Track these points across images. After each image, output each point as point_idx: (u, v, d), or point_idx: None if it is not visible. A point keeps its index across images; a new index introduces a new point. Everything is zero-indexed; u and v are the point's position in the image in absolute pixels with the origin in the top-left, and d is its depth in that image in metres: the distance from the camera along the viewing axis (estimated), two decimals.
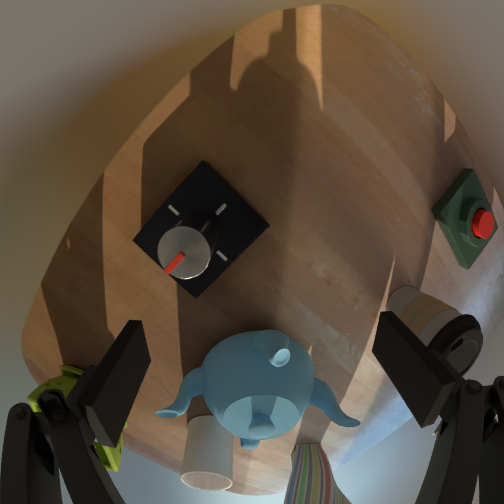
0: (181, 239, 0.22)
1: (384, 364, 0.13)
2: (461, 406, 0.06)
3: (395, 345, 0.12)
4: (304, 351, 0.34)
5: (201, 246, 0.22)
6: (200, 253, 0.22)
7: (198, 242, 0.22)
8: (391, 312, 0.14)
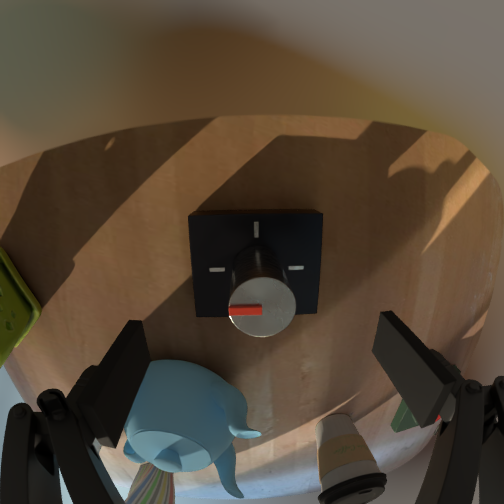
0: (274, 296, 0.18)
1: (384, 363, 0.13)
2: (461, 406, 0.06)
3: (395, 345, 0.12)
4: None
5: (284, 317, 0.18)
6: (277, 321, 0.18)
7: (286, 312, 0.18)
8: (391, 312, 0.14)
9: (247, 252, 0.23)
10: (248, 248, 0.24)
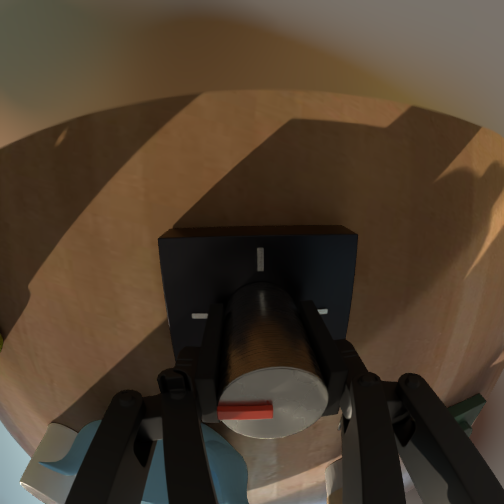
0: (294, 392, 0.09)
1: None
2: (358, 403, 0.08)
3: (307, 332, 0.14)
4: None
5: (308, 416, 0.10)
6: (297, 421, 0.10)
7: (311, 409, 0.10)
8: (311, 301, 0.16)
9: (247, 297, 0.15)
10: (248, 288, 0.16)
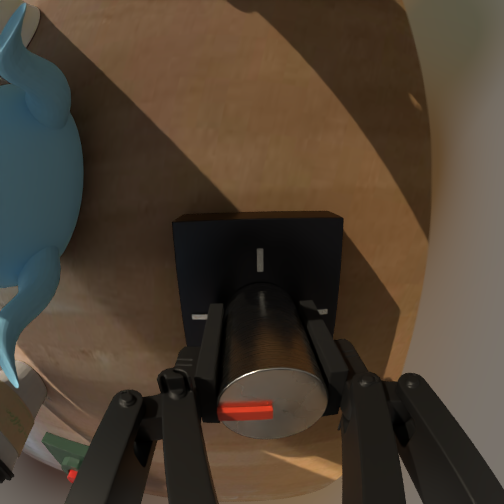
0: (294, 393, 0.09)
1: None
2: (358, 403, 0.08)
3: (307, 332, 0.14)
4: None
5: (309, 416, 0.10)
6: (297, 421, 0.10)
7: (311, 410, 0.10)
8: (311, 301, 0.16)
9: (246, 298, 0.15)
10: (247, 289, 0.16)
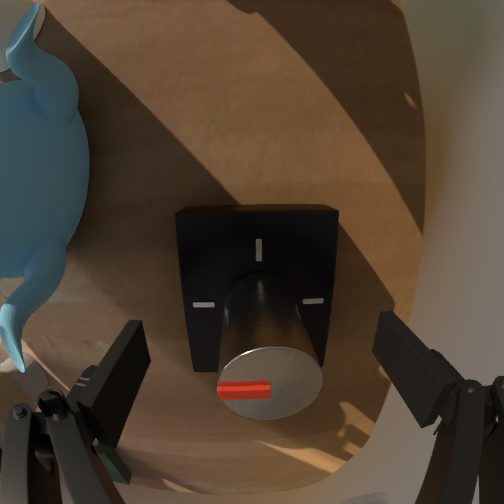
0: (290, 372, 0.10)
1: (384, 363, 0.13)
2: (461, 406, 0.06)
3: (395, 345, 0.12)
4: None
5: (304, 396, 0.11)
6: (293, 402, 0.11)
7: (307, 390, 0.10)
8: (391, 312, 0.14)
9: (245, 285, 0.16)
10: (247, 277, 0.17)
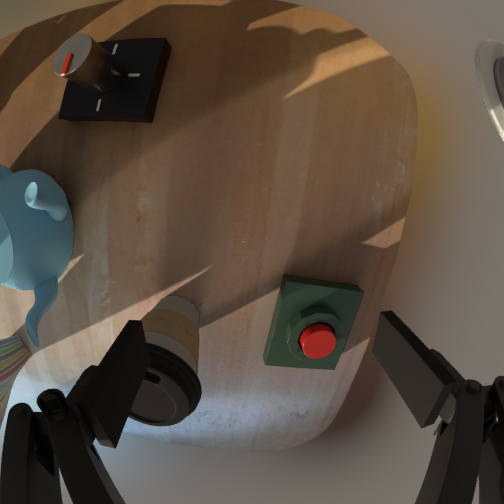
0: (66, 47, 0.15)
1: (384, 363, 0.13)
2: (461, 406, 0.06)
3: (395, 345, 0.12)
4: (68, 244, 0.28)
5: (81, 38, 0.15)
6: (82, 42, 0.15)
7: (78, 38, 0.15)
8: (391, 312, 0.14)
9: None
10: None
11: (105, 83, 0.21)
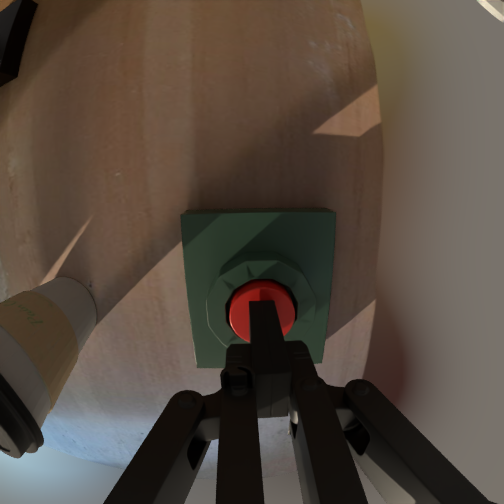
0: None
1: None
2: (302, 409, 0.08)
3: None
4: None
5: None
6: None
7: None
8: (272, 301, 0.16)
9: None
10: None
11: None
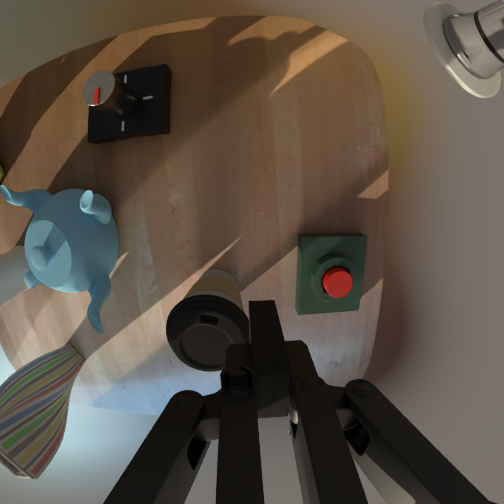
0: (92, 83, 0.23)
1: None
2: (302, 409, 0.08)
3: None
4: (115, 243, 0.36)
5: (104, 75, 0.23)
6: (105, 78, 0.23)
7: (101, 75, 0.23)
8: (272, 301, 0.16)
9: None
10: None
11: (127, 107, 0.29)
